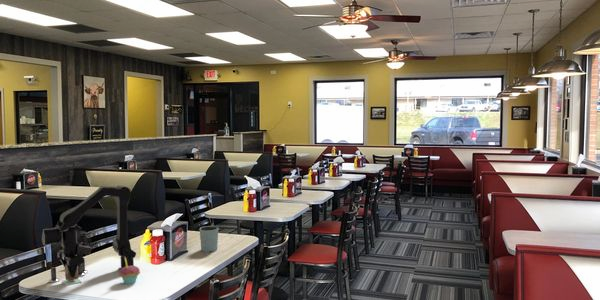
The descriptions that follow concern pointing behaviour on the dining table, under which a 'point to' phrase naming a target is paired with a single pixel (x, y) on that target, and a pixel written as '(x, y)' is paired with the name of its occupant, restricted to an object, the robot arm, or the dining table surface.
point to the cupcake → (129, 273)
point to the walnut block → (68, 276)
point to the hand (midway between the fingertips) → (71, 276)
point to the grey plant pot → (209, 238)
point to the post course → (80, 272)
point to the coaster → (71, 282)
